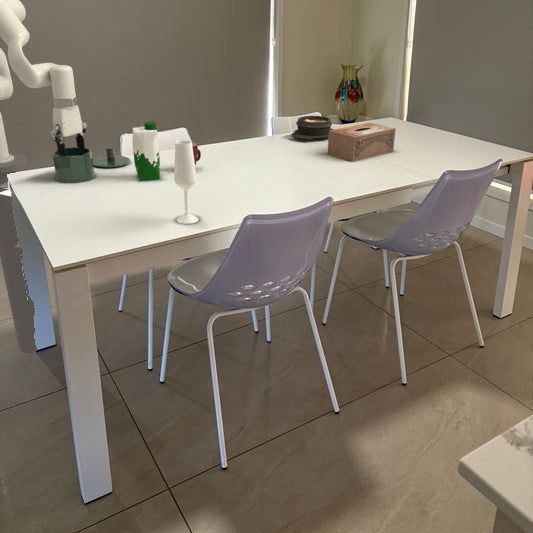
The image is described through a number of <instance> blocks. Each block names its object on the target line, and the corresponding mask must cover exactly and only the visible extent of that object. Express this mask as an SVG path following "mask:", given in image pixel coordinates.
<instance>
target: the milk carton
mask: <svg viewBox="0 0 533 533" xmlns="http://www.w3.org/2000/svg"><path fill="white" fill-rule="evenodd" d="M143 123H144V124H143V125H144V126H138V127H132V149H133V162H134V167H135V170H136V174H137V177H138V180H139V181H140V182H145V181H156V180H160V178H161V177H160V173H161V161H160V160H161V158H160V147H159V146H160V145H159V136H158V135H159V134H158V129H157V122H155V121H146V122H145V121H144V122H143Z"/></svg>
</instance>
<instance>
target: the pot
mask: <svg viewBox="0 0 533 533" xmlns="http://www.w3.org/2000/svg"><path fill="white" fill-rule="evenodd" d="M65 150H66V154H65V155H64V154H59V153H58V149H55V150H54V151H52V159H53V165H54V171H55V173H54V174H55V179H56V180H57V181H58V182H61V183H69V184H71V183H73V184H74V183H84V182H87V181H90V180H92V179H94V178H95V176H96V173H95V165H94V164H93V160H94V157H93V150H92V149H91V148H89V147H85V148H79V147H77V146H69V147H65Z"/></svg>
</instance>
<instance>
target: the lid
mask: <svg viewBox="0 0 533 533" xmlns="http://www.w3.org/2000/svg"><path fill="white" fill-rule="evenodd" d="M105 154H106V155H103V156H99V157H96V158H93V164H94V167H100V168H117V167H122V166H126V165H128V164H130V163H131V159H130V158H129V157H128V156H123V155H115V149H114V146H106V147H105Z"/></svg>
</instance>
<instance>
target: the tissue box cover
mask: <svg viewBox="0 0 533 533" xmlns="http://www.w3.org/2000/svg"><path fill="white" fill-rule="evenodd" d="M333 129H334V130H329V136H328V137H327V155H329V156H333V157H336V158H339V159H343V160H346V161H350V162H356V161H357V162H358V161H360V160H361V161H362V160H365V159H368V158H372V157H376V156H377V157H378V156H381V155H384V154H388V153H393V152H394V148H395V138H396V127H391V126H387V125H384V124H379V123H374V122H369V121H368V122H364V123H360V124H354V125H350V126H344V127H339V128H333Z"/></svg>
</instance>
